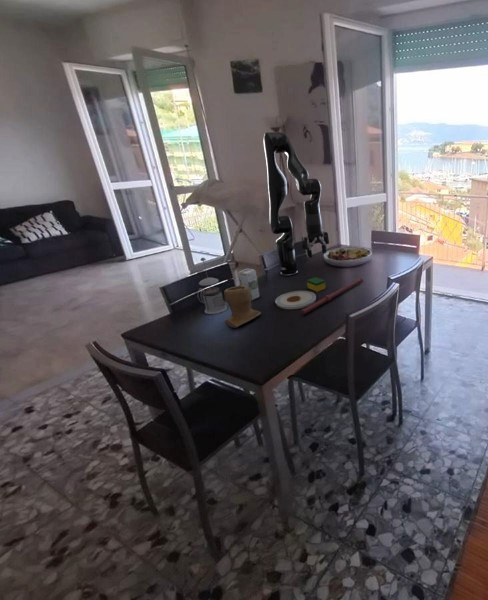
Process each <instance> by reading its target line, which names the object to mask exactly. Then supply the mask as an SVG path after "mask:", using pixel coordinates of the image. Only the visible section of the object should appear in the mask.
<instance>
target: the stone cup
mask: <svg viewBox="0 0 488 600" xmlns="http://www.w3.org/2000/svg"><path fill="white" fill-rule="evenodd" d="M223 292H224V293H223V294H224V295H223V296H224V299H225V300H224V301H225V302H226V304H227V305H228V307H229V310H230V311H231V315H230V316H229V317H227V318H226V319H224V323H225V324H226V325H228V326H229V327H230V328H232V329H234V328H235V329H237V328H239V327H241V326H242V325H244V324H246V323H248V322H250V321H252V320H254V319H256V318H257V317H259V316H260V315H261V314H262V312H261V311H259V310H256V309H252V301H251V293H250V290H249V288H248V287H247V286H241V285H236V286H232V287H229V288H226V289H225V290H224V291H223Z"/></svg>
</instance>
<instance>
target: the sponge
mask: <svg viewBox="0 0 488 600" xmlns="http://www.w3.org/2000/svg"><path fill="white" fill-rule="evenodd" d="M306 285H307V289H309V290H312V291H315V292H316V293H317V292H320V291H323V290H325V289H326V288H327V287H326V281H325V280H324V279H322V278H319V277H316V276H315V277H312V278H309V279H307V280H306Z"/></svg>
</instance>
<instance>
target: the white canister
mask: <svg viewBox="0 0 488 600" xmlns="http://www.w3.org/2000/svg"><path fill="white" fill-rule="evenodd" d="M237 274H238V279H239V286H247V287H248V288H249V290H250V293H251V302H252V301H254V300H257V299H259V298H260V297H261V293H260V287H259V281H258V276H257V271H256V270H255V269H253V268H245V269H242V270H240V271H239V270H238V271H237Z"/></svg>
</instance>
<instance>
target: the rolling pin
mask: <svg viewBox="0 0 488 600" xmlns="http://www.w3.org/2000/svg"><path fill="white" fill-rule="evenodd" d="M363 280H364V279H363V278H362V277H359V278H357V279H356V280H353V281H351V282H350V283H348V284H346V285H345V286H343V287H341V288H339V289H338V290H336V291H333V292H332V293H330V294H326V295H325V296H324V297H323V298H321V299H319V300H318V301H315V302H314V303H313V304H311V305H309V306H307V307H304V308H302V310H300V311H301V314H302V315H303V316H305V315H307V314H308V313H310V312H312V311H314V310H315V309H318V307H319V308H320V307H321V306H322V305H324V304H326V303H329V302H331V301H333V299H334V298H336V297H338V296H339V295H342V294H343V293H345V292H347V291H349V290H350V289H352V288H354V287H355V286H357V285H358V284H361V283H362V282H363Z"/></svg>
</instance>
